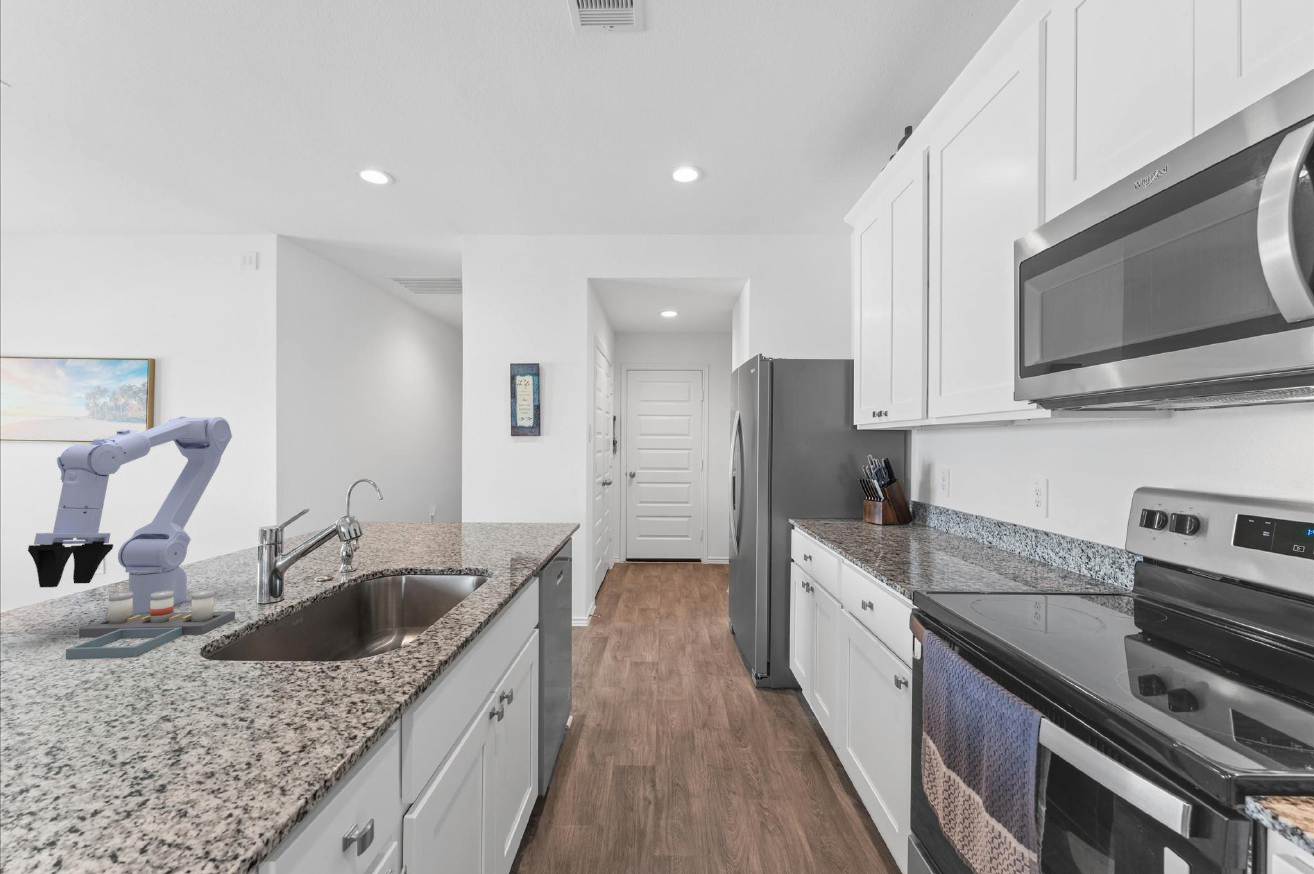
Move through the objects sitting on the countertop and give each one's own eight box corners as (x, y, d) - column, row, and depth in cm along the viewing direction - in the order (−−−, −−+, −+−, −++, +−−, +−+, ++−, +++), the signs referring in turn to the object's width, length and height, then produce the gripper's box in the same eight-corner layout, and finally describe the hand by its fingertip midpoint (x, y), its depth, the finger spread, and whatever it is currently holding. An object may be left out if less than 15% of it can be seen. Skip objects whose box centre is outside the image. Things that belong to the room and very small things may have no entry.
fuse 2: (198, 624, 104) (199, 589, 104) (217, 623, 104) (218, 589, 104) (186, 629, 101) (187, 594, 101) (205, 629, 101) (206, 594, 101)
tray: (120, 642, 96) (120, 628, 96) (181, 641, 97) (182, 627, 97) (65, 665, 86) (66, 649, 86) (134, 663, 87) (135, 647, 88)
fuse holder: (122, 626, 105) (123, 610, 105) (234, 623, 107) (235, 608, 107) (78, 643, 96) (79, 625, 96) (201, 639, 98) (202, 622, 98)
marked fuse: (158, 625, 103) (159, 590, 103) (177, 624, 103) (178, 590, 104) (144, 630, 100) (145, 595, 100) (163, 630, 100) (165, 594, 100)
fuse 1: (117, 626, 102) (119, 591, 102) (136, 625, 103) (137, 590, 103) (102, 631, 99) (103, 595, 99) (122, 631, 99) (123, 595, 100)
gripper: (83, 510, 106) (69, 581, 103) (19, 506, 92) (1, 589, 90) (127, 510, 108) (114, 581, 105) (70, 507, 94) (54, 588, 91)
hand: (65, 585), depth 98 cm, fingers open, 7 cm apart
